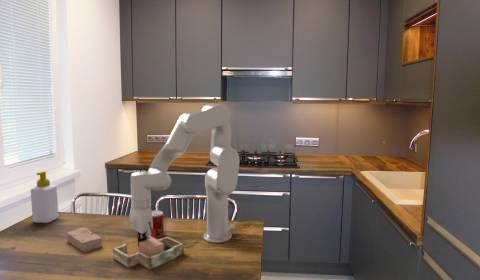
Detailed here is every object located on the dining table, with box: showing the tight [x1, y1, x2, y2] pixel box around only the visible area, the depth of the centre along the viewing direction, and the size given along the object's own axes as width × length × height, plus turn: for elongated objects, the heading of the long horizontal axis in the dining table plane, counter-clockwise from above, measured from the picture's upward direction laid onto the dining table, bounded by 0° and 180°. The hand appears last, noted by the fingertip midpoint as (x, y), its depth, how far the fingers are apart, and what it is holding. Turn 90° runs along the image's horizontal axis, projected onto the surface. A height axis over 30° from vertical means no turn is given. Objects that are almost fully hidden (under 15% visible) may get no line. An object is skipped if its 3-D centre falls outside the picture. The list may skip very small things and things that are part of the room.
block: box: [138, 238, 164, 257], centre depth 141 cm, size 6×8×6 cm
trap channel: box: [112, 236, 185, 270], centre depth 143 cm, size 22×19×4 cm
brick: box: [66, 227, 103, 253], centre depth 154 cm, size 17×8×5 cm, turn 48°
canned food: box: [150, 209, 165, 240], centre depth 161 cm, size 8×8×11 cm
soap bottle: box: [30, 170, 60, 224], centre depth 180 cm, size 9×9×25 cm
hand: (142, 246), depth 145 cm, fingers closed
